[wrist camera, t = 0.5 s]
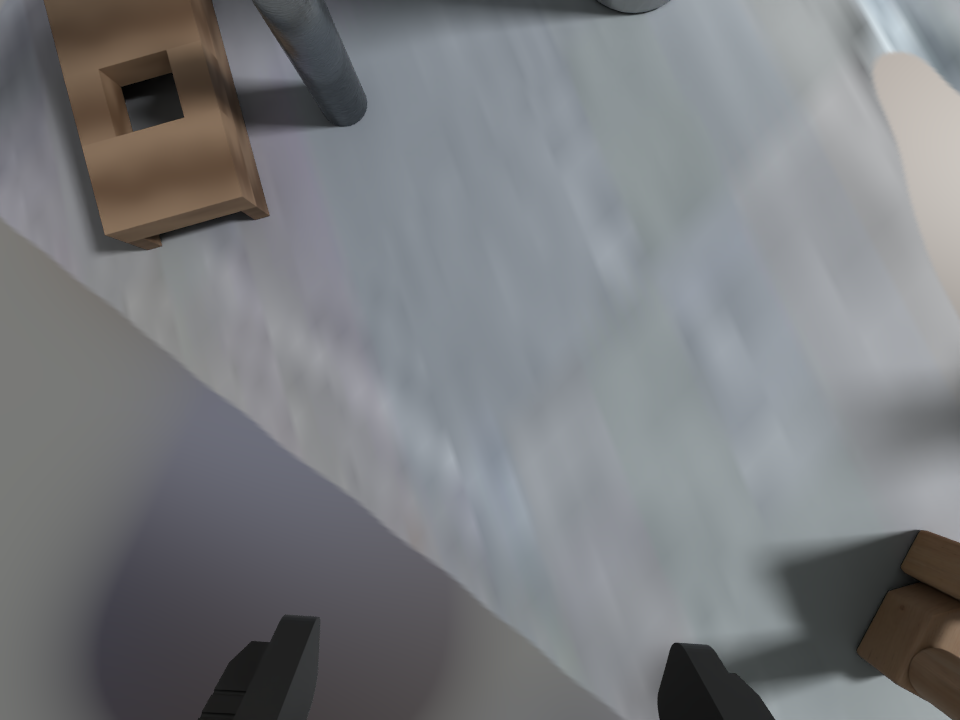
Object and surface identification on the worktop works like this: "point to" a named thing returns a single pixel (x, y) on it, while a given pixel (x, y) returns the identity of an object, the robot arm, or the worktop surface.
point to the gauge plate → (162, 148)
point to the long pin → (317, 56)
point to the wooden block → (922, 626)
